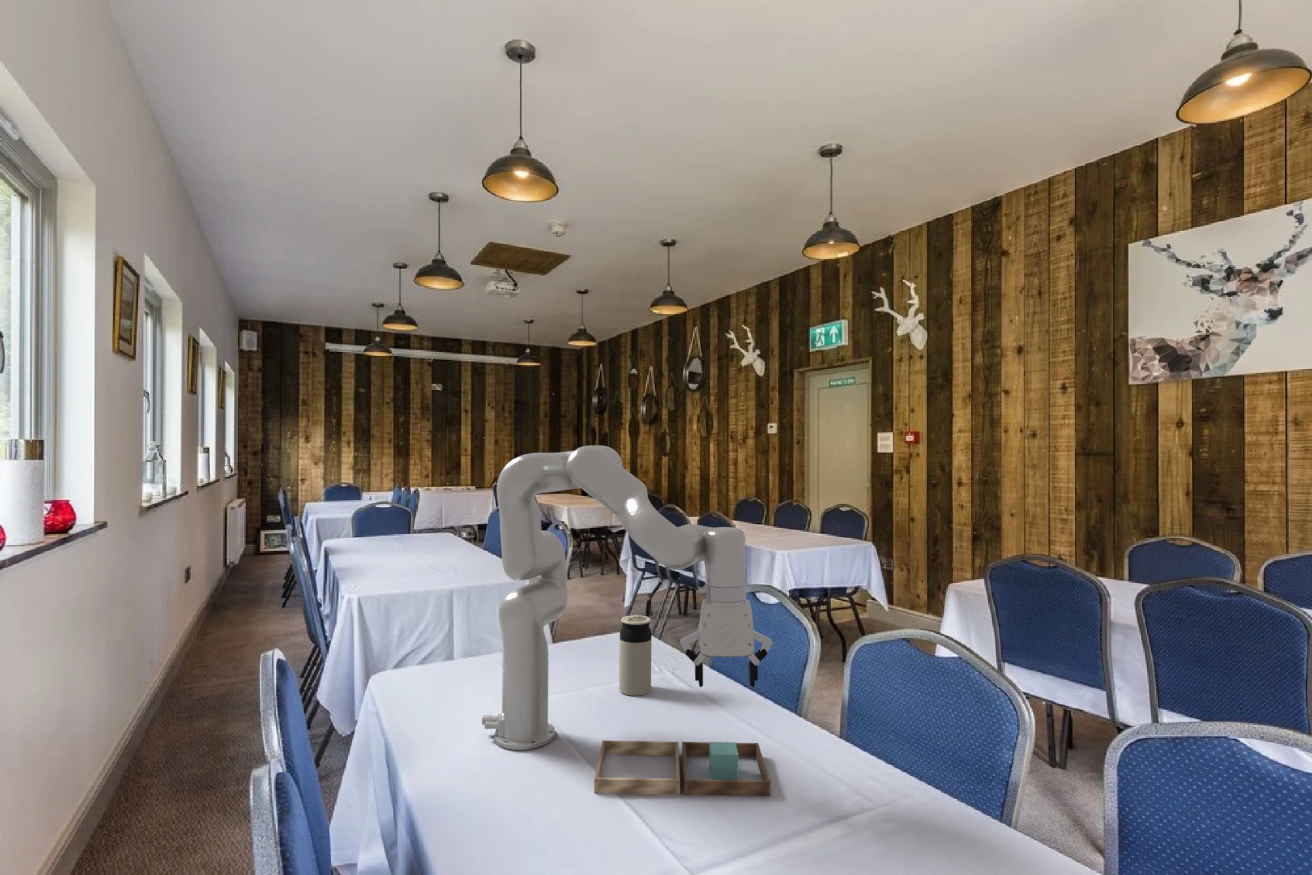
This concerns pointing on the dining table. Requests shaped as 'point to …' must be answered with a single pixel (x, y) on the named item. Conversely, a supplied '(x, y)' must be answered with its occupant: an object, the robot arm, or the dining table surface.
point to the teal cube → (723, 761)
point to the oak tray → (637, 783)
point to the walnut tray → (725, 785)
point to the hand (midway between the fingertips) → (726, 684)
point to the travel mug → (635, 655)
